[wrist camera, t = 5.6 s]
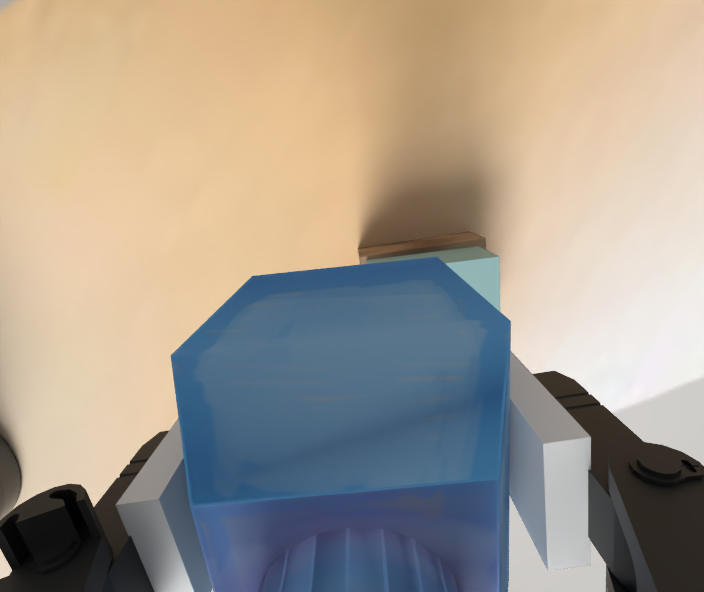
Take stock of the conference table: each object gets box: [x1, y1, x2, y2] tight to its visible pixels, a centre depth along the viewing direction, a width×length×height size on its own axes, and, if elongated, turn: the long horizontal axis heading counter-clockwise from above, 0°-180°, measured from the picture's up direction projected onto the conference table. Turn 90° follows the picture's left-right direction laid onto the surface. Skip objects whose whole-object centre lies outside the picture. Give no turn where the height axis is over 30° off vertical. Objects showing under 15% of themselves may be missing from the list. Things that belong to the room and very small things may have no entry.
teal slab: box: [366, 246, 500, 311], centre depth 27 cm, size 8×8×4 cm
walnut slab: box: [358, 232, 486, 265], centre depth 31 cm, size 9×9×4 cm
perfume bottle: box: [171, 257, 511, 592], centre depth 8 cm, size 6×6×12 cm
